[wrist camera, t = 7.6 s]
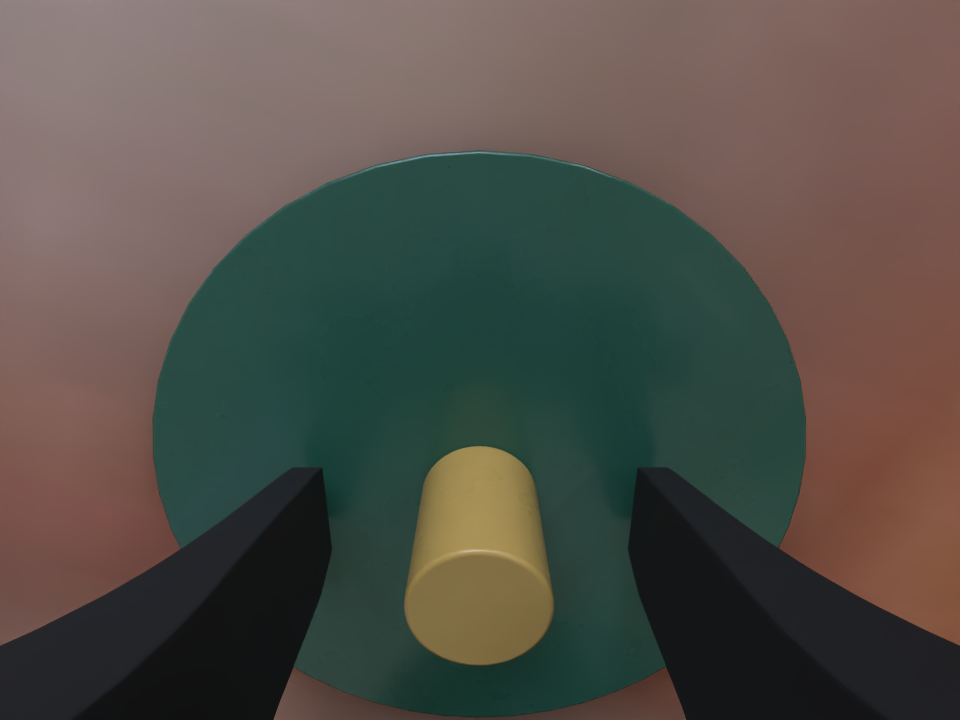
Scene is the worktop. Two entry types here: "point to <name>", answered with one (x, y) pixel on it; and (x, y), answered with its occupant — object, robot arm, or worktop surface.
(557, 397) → the tin lid
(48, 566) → the worktop surface
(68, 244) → the worktop surface
